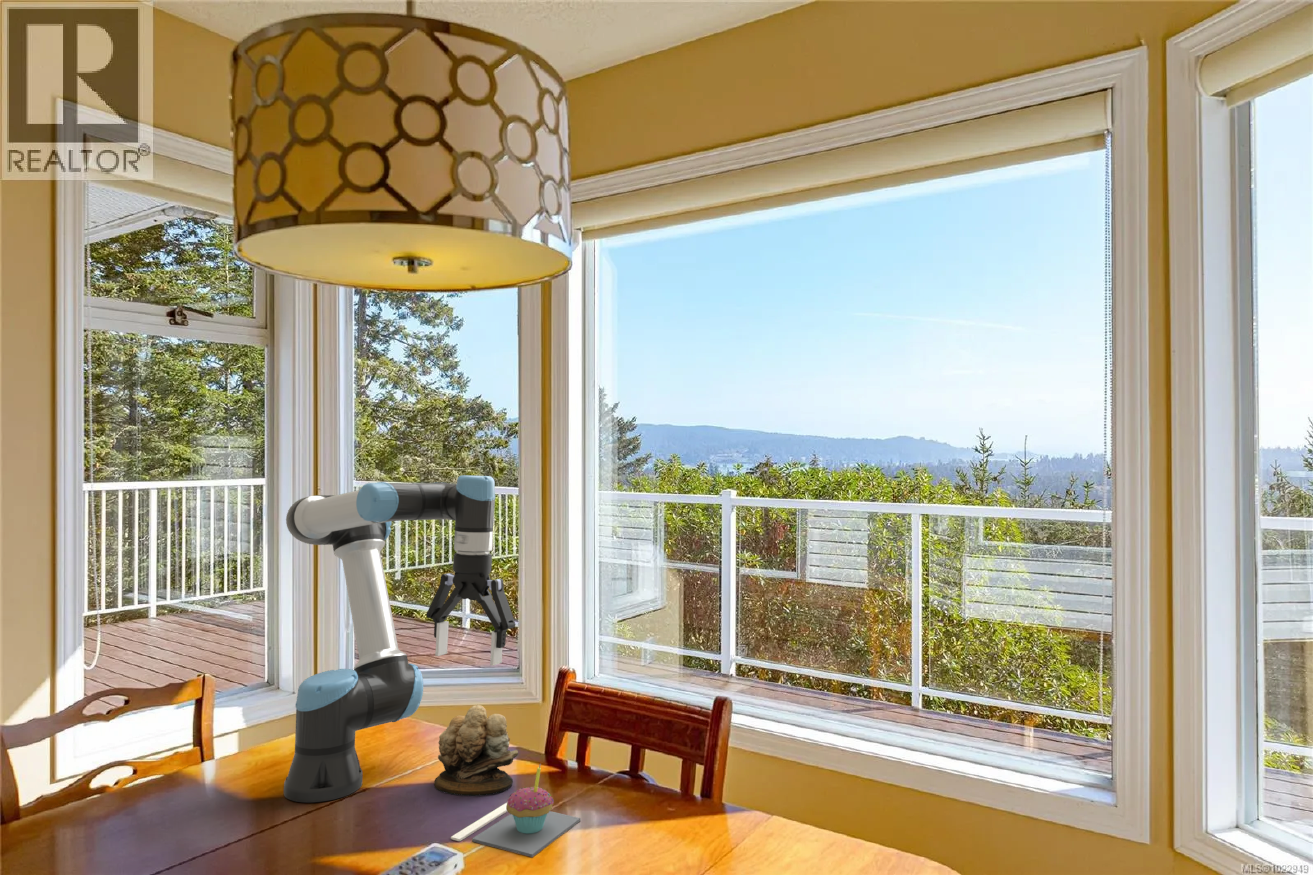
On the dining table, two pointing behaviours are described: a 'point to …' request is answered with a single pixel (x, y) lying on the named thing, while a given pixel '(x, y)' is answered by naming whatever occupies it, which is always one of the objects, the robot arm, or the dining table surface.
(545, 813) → the cupcake
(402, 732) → the dining table surface
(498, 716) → the owl figurine
